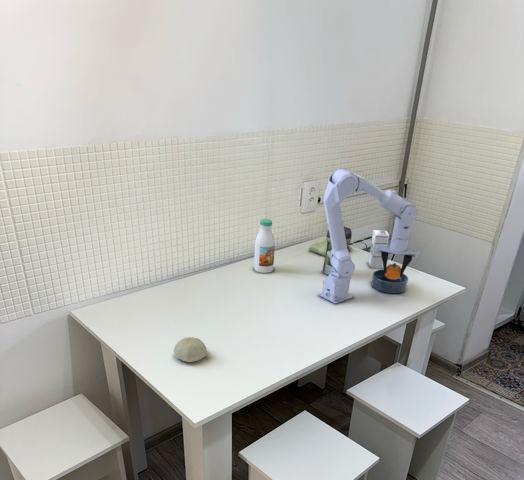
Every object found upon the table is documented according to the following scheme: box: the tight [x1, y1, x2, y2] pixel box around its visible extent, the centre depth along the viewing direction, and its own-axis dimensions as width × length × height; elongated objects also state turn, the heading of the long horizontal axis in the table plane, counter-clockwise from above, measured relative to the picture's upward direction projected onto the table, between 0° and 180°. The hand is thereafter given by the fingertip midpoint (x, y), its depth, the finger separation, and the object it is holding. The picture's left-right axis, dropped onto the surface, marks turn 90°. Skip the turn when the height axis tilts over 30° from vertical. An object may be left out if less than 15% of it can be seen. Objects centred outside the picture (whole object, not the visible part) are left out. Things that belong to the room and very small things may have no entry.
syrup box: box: [368, 229, 390, 269], centre depth 202 cm, size 6×6×14 cm
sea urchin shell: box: [173, 336, 207, 363], centre depth 138 cm, size 9×8×8 cm
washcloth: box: [308, 238, 353, 257], centre depth 217 cm, size 13×18×3 cm
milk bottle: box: [253, 218, 276, 274], centre depth 191 cm, size 8×8×20 cm
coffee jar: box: [322, 225, 353, 276], centre depth 192 cm, size 10×8×19 cm
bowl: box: [370, 268, 409, 294], centre depth 186 cm, size 13×13×4 cm
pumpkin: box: [385, 262, 402, 280], centre depth 176 cm, size 6×6×5 cm
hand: (392, 273), depth 177 cm, fingers closed on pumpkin, 5 cm apart
